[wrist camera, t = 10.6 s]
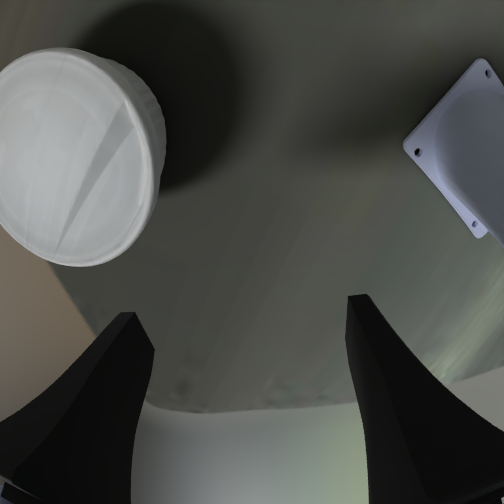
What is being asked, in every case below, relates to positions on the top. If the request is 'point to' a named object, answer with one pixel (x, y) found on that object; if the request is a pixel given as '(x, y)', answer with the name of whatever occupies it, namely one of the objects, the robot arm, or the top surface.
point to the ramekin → (77, 155)
